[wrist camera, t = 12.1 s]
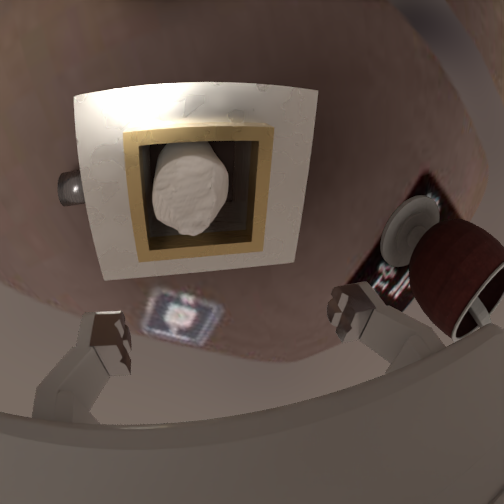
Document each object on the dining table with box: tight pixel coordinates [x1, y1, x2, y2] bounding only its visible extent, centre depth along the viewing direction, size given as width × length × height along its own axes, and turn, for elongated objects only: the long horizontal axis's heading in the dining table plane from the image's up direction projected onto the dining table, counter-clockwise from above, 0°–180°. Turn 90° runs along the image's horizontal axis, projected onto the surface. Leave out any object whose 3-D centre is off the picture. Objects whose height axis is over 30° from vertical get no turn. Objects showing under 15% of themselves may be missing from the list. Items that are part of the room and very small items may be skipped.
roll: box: [152, 141, 229, 236], centre depth 21 cm, size 6×12×6 cm
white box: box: [58, 82, 318, 280], centre depth 22 cm, size 21×16×8 cm
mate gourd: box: [380, 195, 504, 342], centre depth 31 cm, size 16×14×20 cm
